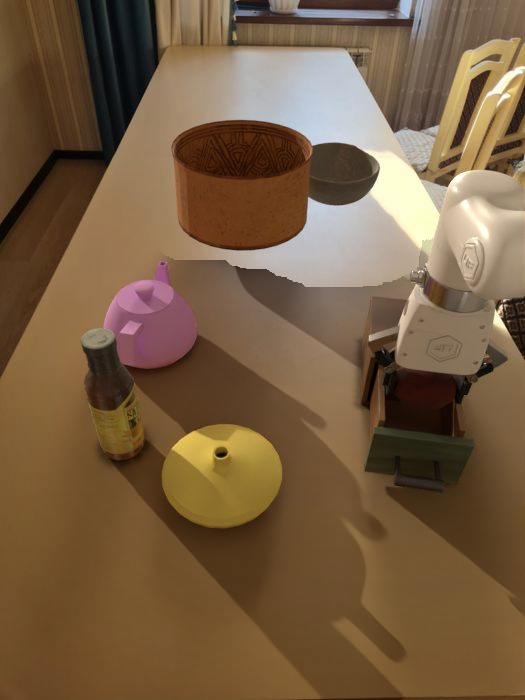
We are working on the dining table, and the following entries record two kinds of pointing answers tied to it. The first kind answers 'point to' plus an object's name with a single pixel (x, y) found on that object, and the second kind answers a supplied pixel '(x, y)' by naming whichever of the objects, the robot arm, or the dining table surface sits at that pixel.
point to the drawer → (416, 441)
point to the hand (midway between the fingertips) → (422, 391)
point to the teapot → (151, 322)
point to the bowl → (341, 173)
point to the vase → (221, 475)
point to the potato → (424, 388)
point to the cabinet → (379, 319)
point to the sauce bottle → (112, 397)
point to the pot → (242, 183)
